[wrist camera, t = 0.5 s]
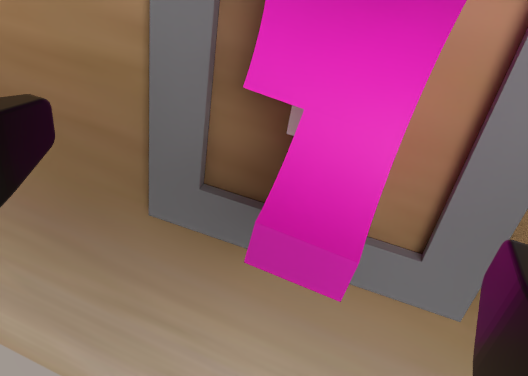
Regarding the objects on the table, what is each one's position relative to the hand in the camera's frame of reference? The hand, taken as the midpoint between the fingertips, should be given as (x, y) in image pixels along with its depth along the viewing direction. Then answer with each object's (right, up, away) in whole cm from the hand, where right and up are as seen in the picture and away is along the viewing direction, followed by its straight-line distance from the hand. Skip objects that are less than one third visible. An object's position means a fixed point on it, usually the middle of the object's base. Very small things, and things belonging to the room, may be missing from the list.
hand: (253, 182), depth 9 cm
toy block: (+4, +7, +10) cm, 13 cm away
